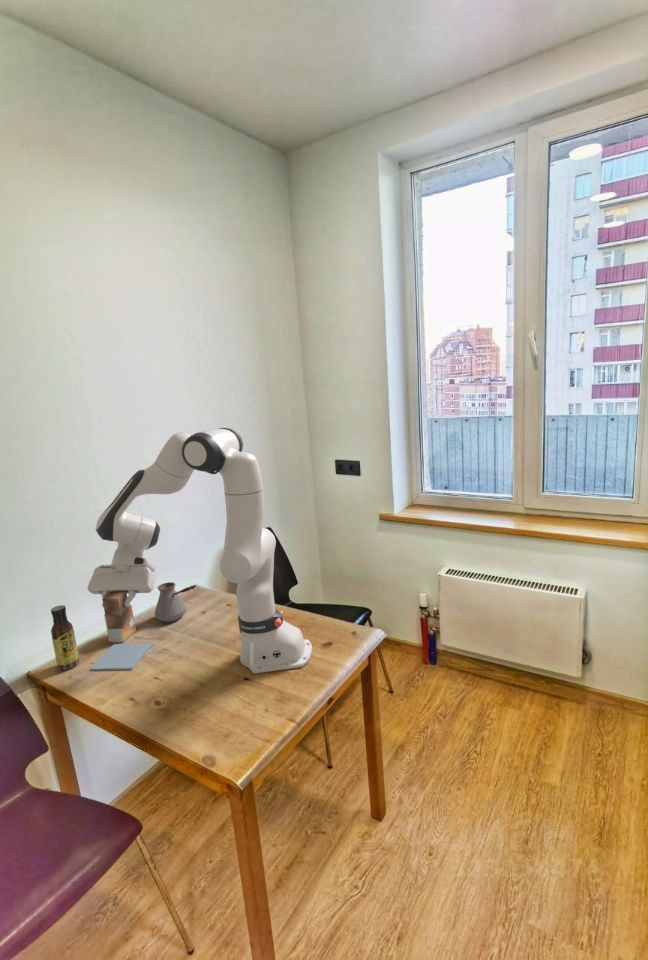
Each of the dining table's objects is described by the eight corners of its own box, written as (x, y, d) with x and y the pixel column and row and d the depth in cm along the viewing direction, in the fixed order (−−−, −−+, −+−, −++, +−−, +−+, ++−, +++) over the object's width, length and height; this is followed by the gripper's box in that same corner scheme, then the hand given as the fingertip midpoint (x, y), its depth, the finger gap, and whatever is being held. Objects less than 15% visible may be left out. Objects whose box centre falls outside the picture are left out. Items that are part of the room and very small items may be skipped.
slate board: (152, 644, 159) (152, 643, 159) (132, 669, 145) (131, 667, 145) (114, 645, 161) (113, 644, 161) (90, 670, 147) (89, 668, 147)
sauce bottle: (68, 672, 147) (55, 614, 143) (53, 670, 149) (40, 612, 145) (84, 660, 153) (72, 604, 149) (70, 658, 155) (58, 602, 151)
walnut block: (131, 620, 148) (126, 591, 146) (123, 629, 143) (117, 598, 141) (116, 621, 148) (111, 591, 146) (107, 629, 143) (102, 598, 141)
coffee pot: (149, 622, 175) (142, 584, 172) (172, 608, 185) (166, 572, 182) (191, 632, 165) (185, 592, 162) (213, 616, 175) (208, 579, 172)
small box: (123, 642, 162) (117, 614, 160) (109, 642, 163) (103, 614, 161) (136, 630, 170) (131, 603, 168) (123, 630, 171) (117, 603, 169)
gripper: (90, 561, 150) (77, 604, 142) (152, 559, 147) (142, 602, 140) (101, 569, 155) (88, 610, 147) (160, 567, 153) (151, 609, 145)
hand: (115, 606), depth 144 cm, fingers closed on walnut block, 5 cm apart
